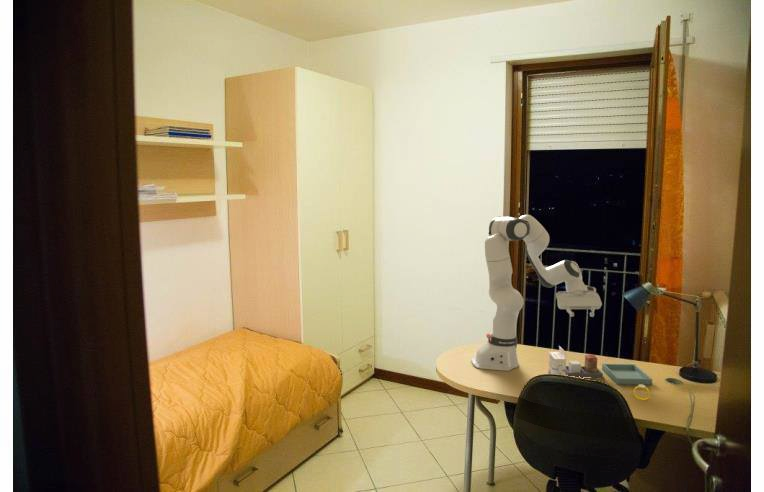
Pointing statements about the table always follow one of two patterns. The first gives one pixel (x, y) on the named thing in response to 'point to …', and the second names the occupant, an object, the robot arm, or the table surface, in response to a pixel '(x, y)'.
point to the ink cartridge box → (557, 362)
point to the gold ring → (641, 388)
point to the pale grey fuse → (574, 366)
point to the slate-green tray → (626, 374)
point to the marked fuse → (590, 364)
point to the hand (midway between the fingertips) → (582, 316)
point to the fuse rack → (584, 373)
